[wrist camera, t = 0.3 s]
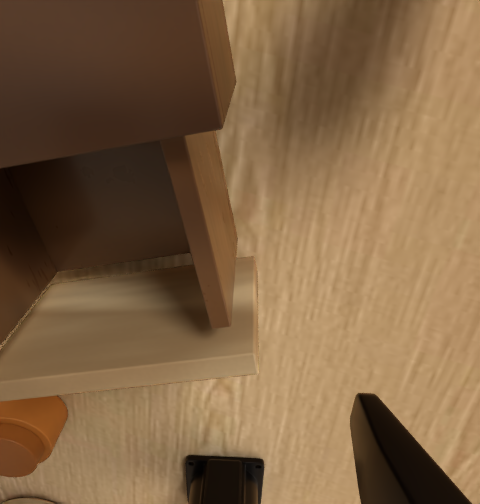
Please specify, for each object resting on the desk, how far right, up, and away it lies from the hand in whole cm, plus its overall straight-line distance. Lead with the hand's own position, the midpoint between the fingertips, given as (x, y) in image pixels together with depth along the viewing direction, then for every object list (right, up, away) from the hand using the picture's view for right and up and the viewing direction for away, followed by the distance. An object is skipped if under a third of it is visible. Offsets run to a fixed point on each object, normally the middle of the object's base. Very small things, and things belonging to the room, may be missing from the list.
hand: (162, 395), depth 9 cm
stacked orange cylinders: (-14, -9, +22) cm, 28 cm away
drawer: (-4, +5, +13) cm, 14 cm away
